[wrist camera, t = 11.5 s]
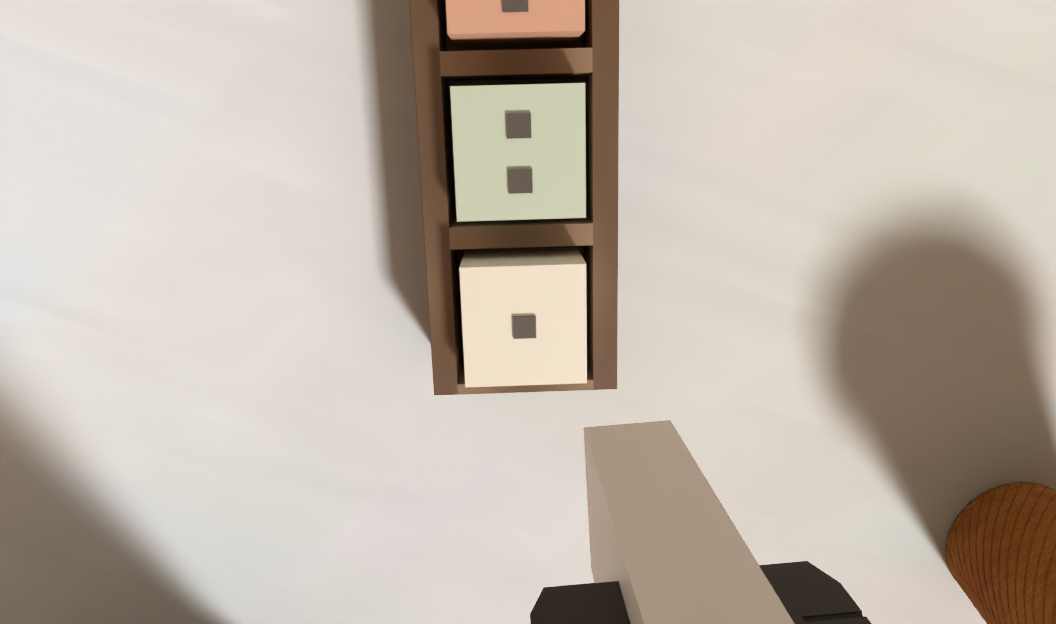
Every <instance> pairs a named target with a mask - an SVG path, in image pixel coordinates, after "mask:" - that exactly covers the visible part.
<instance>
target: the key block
mask: <svg viewBox="0 0 1056 624" xmlns="http://www.w3.org/2000/svg"><path fill="white" fill-rule="evenodd" d="M410 14H411V30H412V46H413V62H414V78H415V94H416V110H417V126H418V142H419V159H420V175H421V191H422V207H423V223H424V239H425V255H426V271H427V287H428V303H429V319H430V335H431V351H432V367H433V383H434V395H454V394H483V393H512V392H540V391H569V390H598V389H617V279H618V96H619V0H585V31H584V32H583V33H582V34H581V36H580V37H579V38H578V39H577V40H576V41H575V42H574V43H573V44H566V45H525V46H484V47H456V46H455V44H454V43H453V41H452V40H451V38H450V37H449V36H448V34H447V16H446V0H410ZM561 83H585V125H586V218H561V219H527V220H494V221H460V222H457V213H456V193H455V174H454V154H453V134H452V115H451V95H450V86H483V85H522V84H561ZM552 246H577V248H578V250H579V252H580V253H581V255H582V257H583V259H584V261H585V262H586V304H587V383H580V384H551V385H522V386H493V387H465V371H464V351H463V331H462V312H461V292H460V272H459V267H460V264H461V261H462V258H463V254H464V251H465V249H487V248H520V247H552Z"/></svg>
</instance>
